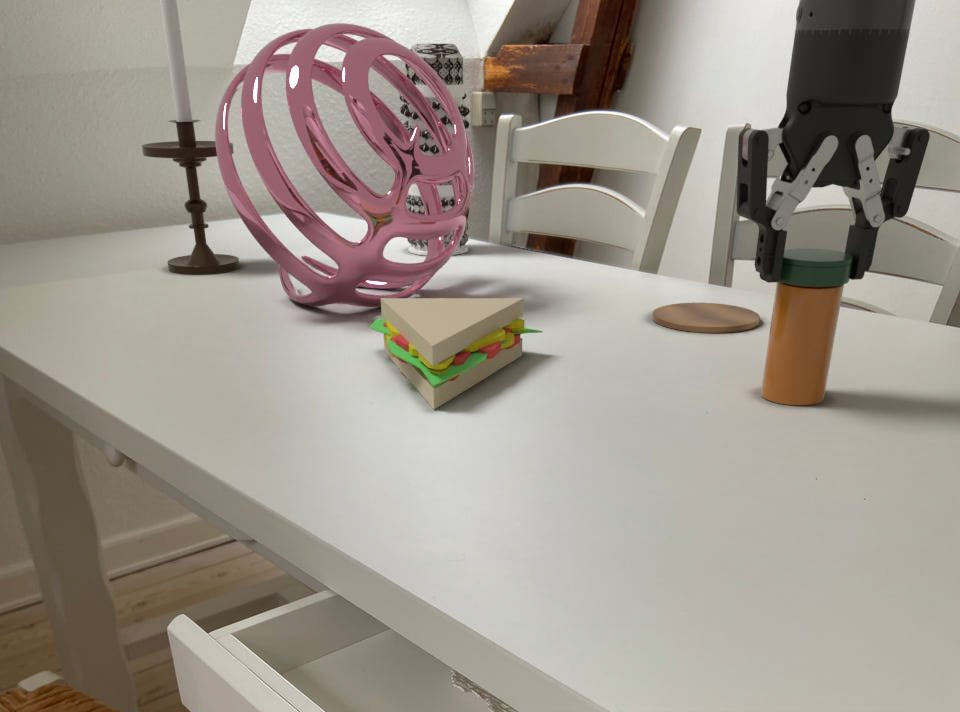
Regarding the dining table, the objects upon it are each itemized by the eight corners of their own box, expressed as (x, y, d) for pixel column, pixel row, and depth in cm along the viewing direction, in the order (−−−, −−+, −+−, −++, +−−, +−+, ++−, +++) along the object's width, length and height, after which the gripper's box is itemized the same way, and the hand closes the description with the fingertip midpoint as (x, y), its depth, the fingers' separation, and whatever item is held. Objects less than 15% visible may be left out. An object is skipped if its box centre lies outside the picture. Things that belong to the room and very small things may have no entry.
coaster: (709, 303, 111) (709, 298, 111) (781, 324, 103) (782, 318, 103) (631, 316, 107) (631, 310, 106) (700, 338, 98) (701, 332, 98)
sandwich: (307, 400, 81) (302, 338, 79) (389, 341, 98) (387, 288, 95) (490, 416, 78) (490, 351, 75) (543, 352, 94) (545, 297, 92)
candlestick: (143, 270, 129) (88, -61, 111) (204, 257, 137) (162, -54, 119) (204, 278, 124) (157, -66, 106) (264, 264, 132) (229, -58, 114)
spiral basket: (143, 101, 110) (262, -84, 89) (352, 154, 128) (490, 10, 108) (196, 343, 107) (330, 209, 87) (401, 360, 126) (551, 253, 106)
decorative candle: (399, 246, 144) (391, 43, 131) (462, 243, 146) (460, 43, 133) (411, 257, 136) (403, 43, 123) (477, 254, 138) (476, 43, 125)
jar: (791, 384, 85) (812, 253, 80) (837, 399, 81) (862, 263, 76) (748, 393, 83) (766, 259, 77) (792, 409, 79) (815, 270, 74)
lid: (809, 269, 81) (813, 245, 80) (865, 281, 77) (870, 256, 76) (757, 276, 78) (761, 252, 77) (812, 289, 74) (816, 264, 73)
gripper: (778, 23, 64) (743, 293, 73) (980, 24, 67) (923, 285, 75) (731, 25, 71) (704, 273, 79) (917, 26, 73) (871, 267, 81)
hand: (811, 278), depth 77 cm, fingers open, 6 cm apart
